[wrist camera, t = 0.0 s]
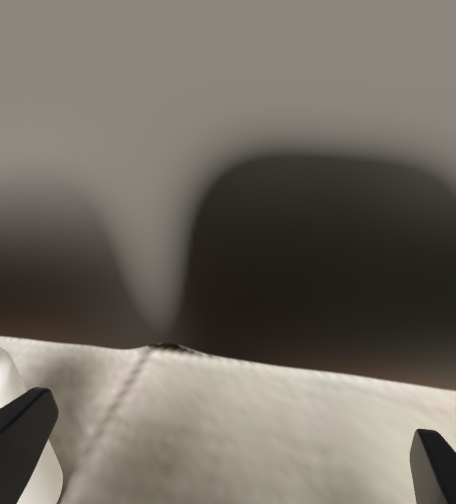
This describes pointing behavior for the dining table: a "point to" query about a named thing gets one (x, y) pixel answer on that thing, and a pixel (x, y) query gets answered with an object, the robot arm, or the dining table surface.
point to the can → (48, 468)
